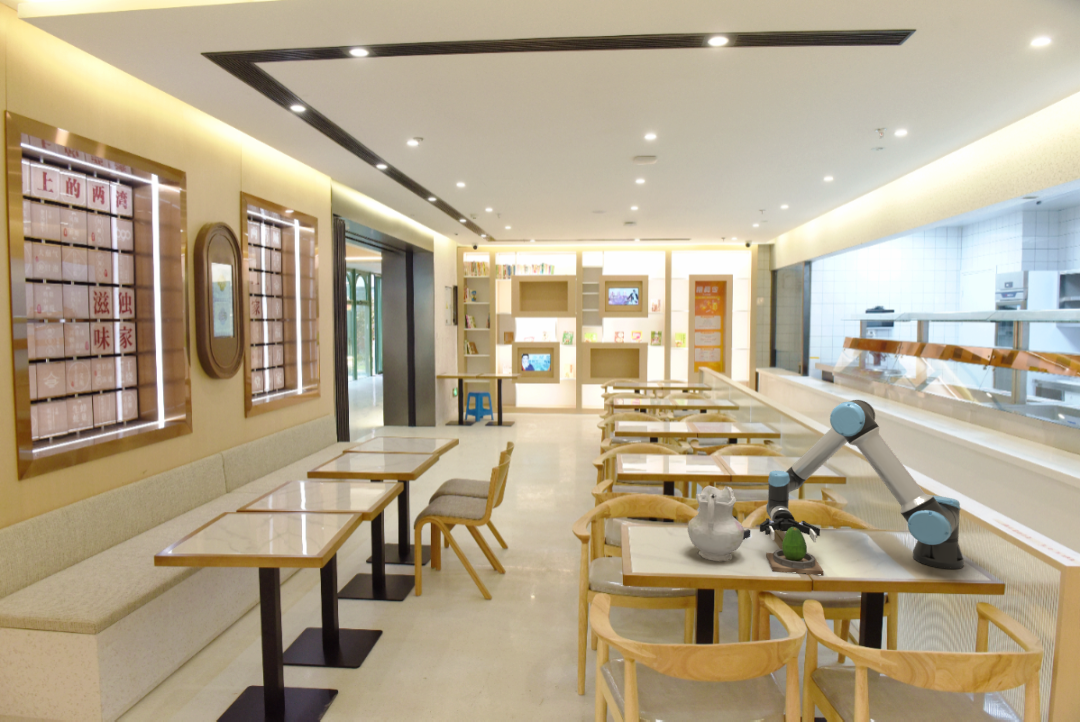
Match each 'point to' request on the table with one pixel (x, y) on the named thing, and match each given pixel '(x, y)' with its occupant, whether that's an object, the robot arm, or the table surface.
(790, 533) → the avocado
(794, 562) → the ring stand
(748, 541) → the table surface
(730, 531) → the ceramic pitcher
